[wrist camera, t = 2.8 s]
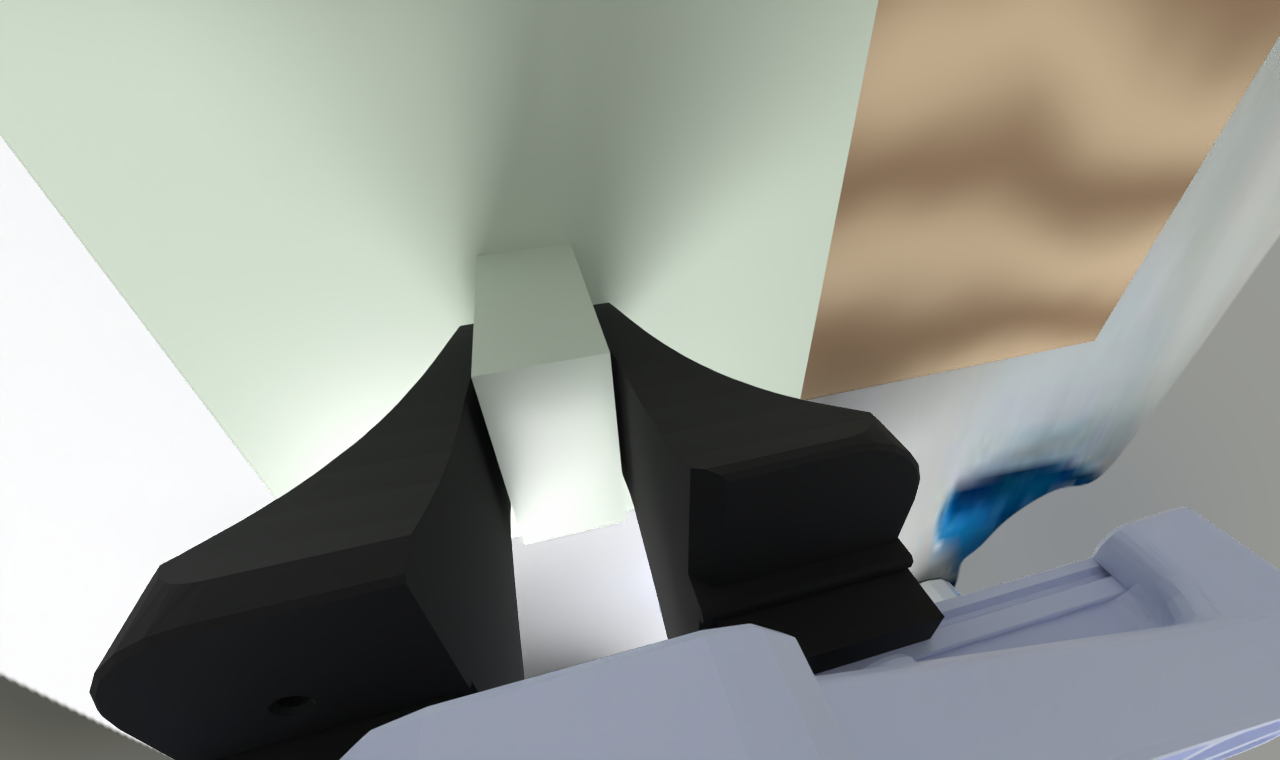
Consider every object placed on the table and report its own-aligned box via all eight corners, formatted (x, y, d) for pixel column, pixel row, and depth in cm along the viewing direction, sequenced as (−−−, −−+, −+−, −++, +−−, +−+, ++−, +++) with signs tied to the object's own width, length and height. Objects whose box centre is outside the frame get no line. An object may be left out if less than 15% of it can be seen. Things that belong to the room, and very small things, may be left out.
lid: (778, 464, 18) (859, 589, 14) (339, 564, 15) (289, 749, 12) (882, -108, 9) (1189, -205, 5) (-135, -89, 6) (-1101, -254, 3)
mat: (1087, 336, 26) (1094, 340, 26) (774, 400, 23) (778, 405, 23) (1378, -155, 15) (1396, -158, 15) (861, -155, 12) (871, -159, 12)
